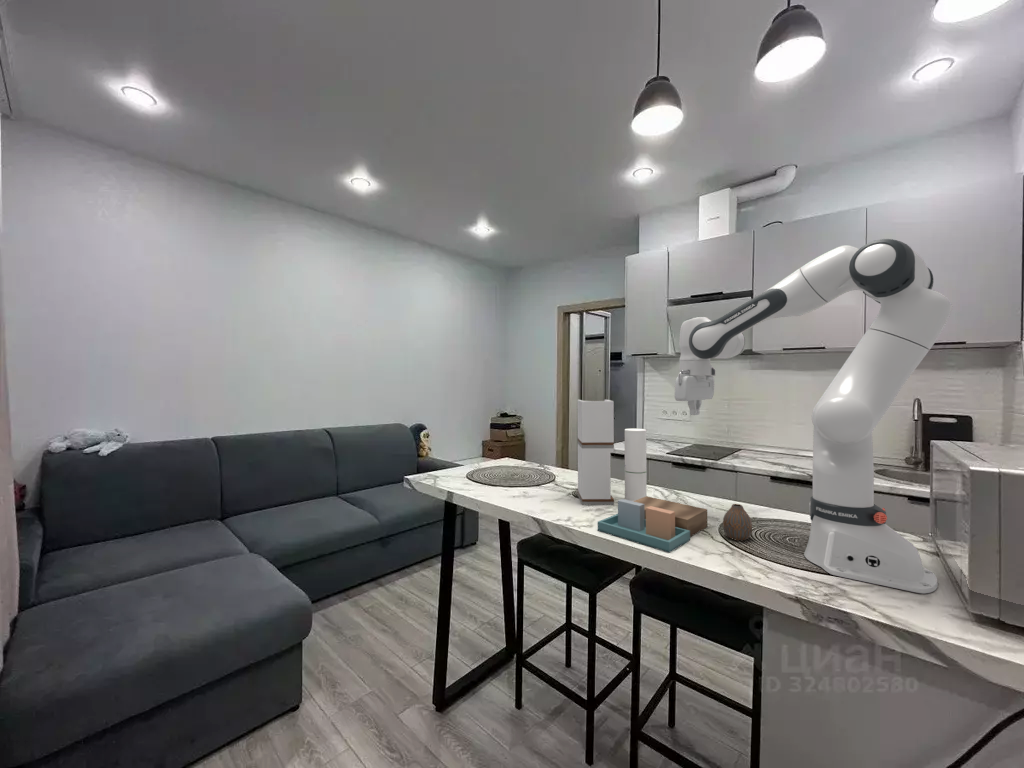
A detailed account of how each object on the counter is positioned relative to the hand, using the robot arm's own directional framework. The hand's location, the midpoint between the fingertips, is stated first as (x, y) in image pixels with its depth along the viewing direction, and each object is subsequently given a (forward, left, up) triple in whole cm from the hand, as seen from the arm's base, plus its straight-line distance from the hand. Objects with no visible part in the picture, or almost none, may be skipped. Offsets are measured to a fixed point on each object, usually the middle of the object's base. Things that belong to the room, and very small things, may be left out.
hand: (694, 414), depth 131 cm
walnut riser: (+2, +14, -31) cm, 34 cm away
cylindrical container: (+20, +1, -31) cm, 37 cm away
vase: (-16, +11, -31) cm, 37 cm away
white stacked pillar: (+31, +9, -31) cm, 45 cm away
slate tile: (+7, +24, -27) cm, 37 cm away
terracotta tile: (-2, +24, -27) cm, 36 cm away
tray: (+2, +27, -31) cm, 41 cm away
